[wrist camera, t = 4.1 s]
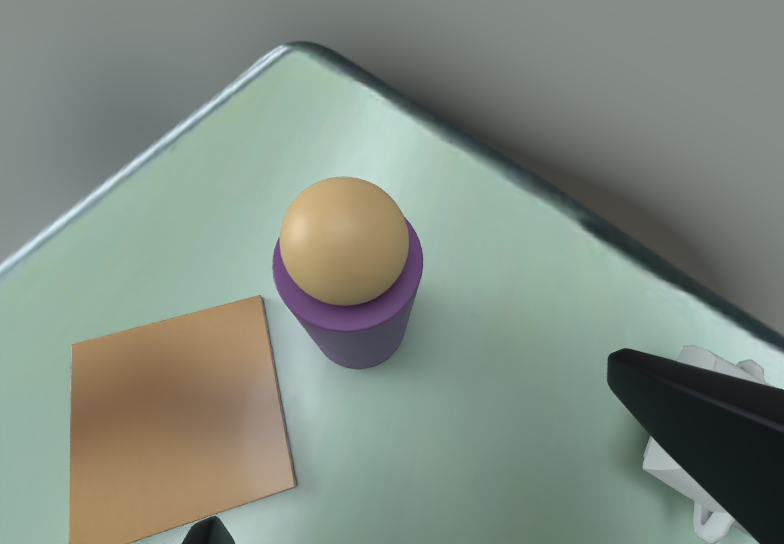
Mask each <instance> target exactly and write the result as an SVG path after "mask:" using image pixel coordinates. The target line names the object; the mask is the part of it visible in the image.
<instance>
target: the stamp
mask: <svg viewBox="0 0 784 544" xmlns="http://www.w3.org/2000/svg"><path fill="white" fill-rule="evenodd" d="M677 361H678V362H681V363H685V364H689V365H693V366H696V367H700V368H704V369H708V370H711V371H715V372H719V373H723V374H726V375H730V376H734V377H738V378H742V379H745V380H749V381H753V382H757V383H760V384H764V385H768V386H771V385H769V384H768V383H766V382H765V380H764V370H763V368H762V367H761V366H760V365H758V364H757V363H756V362H754V361H753V360H745V361H741V362H739V363H738V364H737V365H736V366H735V365H733V364H731V363H730V362H728V361H726V360H724V359H722V358H721V357H719V356H717V355H715V354H713V353H712V352H710V351H708V350H706V349H704V348H700V347H697V346H694V345H691V346H683V347H682V350H681V353H680V355H679V356H678V359H677ZM772 387H773V386H772ZM644 458H645V459H644V462H643V468H642V469H644V470H645V471H647V472H648V473H650V474H652V475H653V476H655V477H656V478H658V479H660V480H661V481H663V482H664V483H666V484H668V485H669V486H671V487H672V488H674V489H676V490H677V491H679V492H680V493H682V494H684V495H685V496H687V497H688V498H690V499H691V500H693V501H695V504H694V516H693V526H694V529H695V532H696V535H697V537H698V538H700V539H701V540H703V541H705V542H707V543H709V544H715V543H716V542H718V541H719V540H720V539H722V538H723V537H725V536H727V534H728V531H729V529H730V526H731V525H733V526H735V527H736V528H738V529H739V530H741V531H743V532H744V533H746V534H747V535H749V536H750V537H752V536H751V535H750V534H749V533H748V532H747V531H746V530H745V529H744V528H743V527H742V526H741V525H740V524H739V523H738V522H737V521H736V520H735V519H734V518H733V517H732V516H731V515H730V514H729V513H728V512H727V511H726V510H725V509H724V508H723V507H721V506H720V505H719V504H718V503H717V502H716V501H715V500H714V499H713V498H712V497H711V496H710V495H709V494H708V493H707V492H706V491H705V490H704V489H703V488H702V487H701V486H700V485H699V484H698V483H697V482H696V481H695V480H694V479H693V478H692V477H691V476H690V475H689V474H688V473H687V472H686V471H685V470H684V469H682V468H681V467H680V466H679V465H678V464H677V463H676V462H675V461H674V460H673V459H672V458H671V457H670V456H669V455H668V454H667V453H666V452H665V451H664V450H663V449H662V448H661V447H660V446H659V444H658V443H657V442H656V441H655V440H654V439H653V438H652V437H651V436H650V438H649V441H648V444H647V447H646V450H645V453H644ZM711 512H712V513H713V514H712V515H711V516H710V513H711ZM752 538H753V537H752Z"/></svg>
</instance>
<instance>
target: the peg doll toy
mask: <svg viewBox="0 0 784 544" xmlns="http://www.w3.org/2000/svg"><path fill="white" fill-rule="evenodd" d="M272 269H273V278H274V281H275V285H276V288H277V290H278V292H279V295H280V296H281V298H282V300H283V301H284V303H285V304H286V305H287V307H288V308H289V309H290V311H291V312H292V313H293V314H294V316H295V317H296V318H297V320H298V321H299V322H300V323H301V325H302V326H303V327H304V329H305V330H306V331H307V332H308V334H309V335H310V336H311V338H312V339H313V340H314V341H315V343H316V344H317V345H318V347H319V348H320V349H321V350H322V352H323V353H324V354H325V355H326V356H327V357H328V358H329V359H330V360H332V361H334V362H335V363H337V364H339V365H341V366H344V367H348V368H354V369H362V368H368V367H372V366H375V365H378V364H380V363H382V362H383V361H385V360H386V359H388V358H389V357H390V356H391V355H392V354H393V353H394V352H395V351H396V349H397V348H398V346H399V345H400V343H401V340H402V338H403V335H404V332H405V328H406V325H407V322H408V319H409V315H410V312H411V309H412V305H413V302H414V299H415V296H416V292H417V289H418V286H419V283H420V279H421V276H422V269H423V254H422V248H421V245H420V241H419V239H418V236H417V234H416V232H415V230H414V229H413V227H412V226H411V224H410V223H409V222H408V220H407V219H406V218H405V217H404V216H403V214H402V212H401V210H400V209H399V207H398V205H397V204H396V202H395V201H394V200H393V199H392V198H391V197H390V196H389V195H388V194H387V193H386V192H385V191H384V190H382V189H381V188H379V187H378V186H376V185H374V184H372V183H370V182H368V181H365V180H362V179H358V178H353V177H334V178H329V179H325V180H322V181H319V182H317V183H315V184H313V185H311V186H310V187H308V188H307V189H305V190H304V191H303V192H301V193H300V194H299V195H298V196H297V197H296V198H295V200H294V201H293V202H292V203H291V205H290V207H289V208H288V210H287V212H286V214H285V216H284V218H283V221H282V225H281V230H280V236H279V238H278V241H277V243H276V246H275V249H274V254H273V265H272Z"/></svg>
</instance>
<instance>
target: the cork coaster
mask: <svg viewBox="0 0 784 544" xmlns="http://www.w3.org/2000/svg"><path fill="white" fill-rule="evenodd" d="M295 486H296V479H295V474H294V468H293V463H292V457H291V452H290V446H289V441H288V435H287V430H286V424H285V419H284V413H283V408H282V403H281V397H280V392H279V386H278V381H277V375H276V370H275V364H274V359H273V353H272V348H271V342H270V337H269V331H268V326H267V320H266V315H265V309H264V304H263V299H262V297H261V295H259V296H255V297H251V298H248V299H244V300H240V301H236V302H232V303H229V304H225V305H221V306H217V307H213V308H209V309H206V310H202V311H198V312H194V313H190V314H186V315H183V316H179V317H175V318H171V319H167V320H163V321H160V322H156V323H152V324H148V325H144V326H140V327H137V328H133V329H129V330H125V331H121V332H117V333H114V334H110V335H106V336H102V337H98V338H95V339H91V340H87V341H83V342H79V343H75V344H72V345H71V414H70V508H69V544H128V543H131V542H134V541H137V540H140V539H143V538H146V537H148V536H151V535H154V534H157V533H160V532H163V531H166V530H169V529H172V528H175V527H178V526H181V525H184V524H187V523H190V522H193V521H196V520H199V519H202V518H205V517H208V516H211V515H214V514H217V513H220V512H223V511H226V510H228V509H231V508H234V507H237V506H240V505H243V504H246V503H249V502H252V501H255V500H258V499H261V498H264V497H267V496H270V495H273V494H276V493H279V492H282V491H285V490H288V489H291V488H294V487H295Z"/></svg>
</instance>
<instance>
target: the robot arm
mask: <svg viewBox="0 0 784 544" xmlns="http://www.w3.org/2000/svg"><path fill="white" fill-rule="evenodd" d="M607 382H608V385H609V387H610V389H611V390H612V392H613V393H614V394H615V395H616V396H617V397H618V399H619V400H620V401H621V402H622V403H623V404H624V405H625V407H626V408H627V409H628V410H629V411H630V412H631V414H632V415H633V416H634V417H635V418H636V419H637V421H638V422H639V423H640V424H641V425H642V426H643V427H644V429H645V430H646V431H647V432H648V433H649V434H650V436H651V437H652V438H653V439H654V440H655V441H656V442H657V443H658V444H659V446H660V447H661V448H662V449H663V450H664V451H665V452H666V453H667V454H668V455H669V456H670V457H671V458H672V459H673V460H674V461H675V462H676V463H677V464H678V465H679V466H680V467H681V468H682V469H684V470H685V471H686V472H687V473H688V474H689V475H690V476H691V477H692V478H693V479H694V480H695V481H696V482H697V483H698V484H699V485H700V486H701V487H702V488H703V489H704V490H705V491H706V492H707V493H708V494H709V495H710V496H711V497H712V498H713V499H714V500H715V501H716V502H717V503H718V504H719V505H720V506H721V507H723V508H724V509H725V510H726V511H727V512H728V513H729V514H730V515H731V516H732V517H733V518H734V519H735V520H736V521H737V522H738V523H739V524H740V525H741V526H742V527H743V528H744V529H745V530H746V531H747V532H748V533H749V534H750V535H751V536H752V537H753V538H754V539H755V540H756V541H757V542H758V543H759V544H784V390H783V389H779V388H775V387H772V386H768V385H764V384H760V383H757V382H753V381H749V380H745V379H742V378H738V377H734V376H730V375H726V374H723V373H719V372H715V371H711V370H708V369H704V368H700V367H696V366H693V365H689V364H685V363H681V362H678V361H674V360H670V359H666V358H662V357H659V356H655V355H651V354H647V353H644V352H640V351H636V350H632V349H628V348H624V349H620V350H618V351H616V352H613V353H611V354H610V355H609V356H608V367H607ZM182 544H235V542H234V540H233V538H232V536H231V535H230V533H229V532H228V530H227V529H226V527H225V526H224V524H223V523H222V522H221V520H220V519H219V518H218V517H216V516H212V517H210V518H207V519H205V520H202V521H200V522H198V523H196V524H194V525H193V526H192V528H191V529H190V530H189V532H188V534H187V535H186V537H185V539H184V540H183V542H182Z"/></svg>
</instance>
